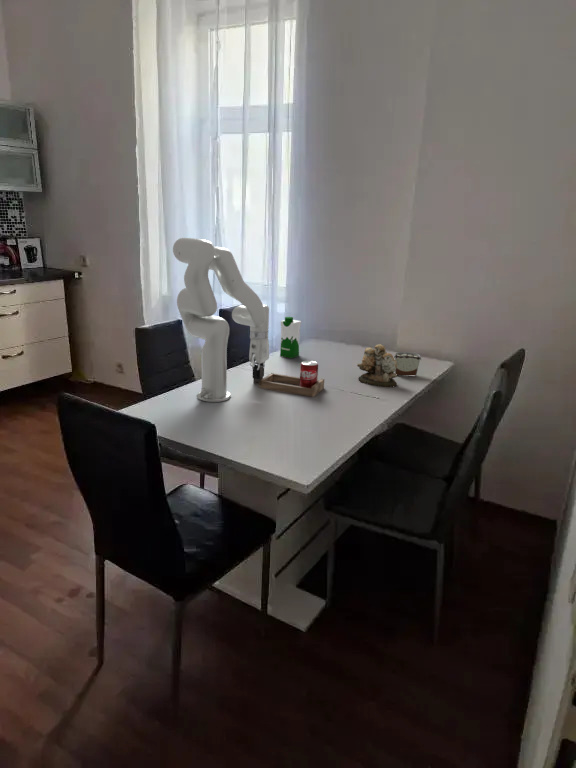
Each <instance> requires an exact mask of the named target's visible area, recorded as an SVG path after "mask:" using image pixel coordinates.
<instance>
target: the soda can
mask: <svg viewBox="0 0 576 768" xmlns="http://www.w3.org/2000/svg"><path fill="white" fill-rule="evenodd" d="M299 377H300V382H299V385H298V386H300V387H306V388H311V387H312V386H313V385H314V384H316V383H317V381H318V379H319V378H318V377H319V363H318V362H317V361H314V360H304V361H301V363H299Z"/></svg>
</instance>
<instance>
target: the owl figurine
mask: <svg viewBox="0 0 576 768" xmlns="http://www.w3.org/2000/svg"><path fill="white" fill-rule="evenodd" d="M363 354H364V355H363V357H362V360H361V363H357V365H356V366H357V367H359V369H360V371H365V373H362V375H360V376H359V377H358V379H357V380H358V382H359V381H360V382H359V383H360V384H364V385H365V384H366V385H369V386H375V387H381V388H394V387H393V386H395V387H396V386H397V381H396V380H395V379H394V378H397V377H398V376H397V375H396V374H395V370H396V368H397V361H396V360H395V358H394V355H393V354H392V353H389V352H387V351H386V347H385V346H384V345H382V344H381V343H379V344H376V345H375V347H374V349H373V348H372V347H366V348H365V350H364V353H363Z"/></svg>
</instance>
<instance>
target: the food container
mask: <svg viewBox="0 0 576 768" xmlns="http://www.w3.org/2000/svg"><path fill="white" fill-rule="evenodd" d="M393 358H394V360H396V361H397V368H396V370H395V372H394V374H397V375H416V376H417V374H418V369H419V365H420V362H421V361H422V357H421V355H420V354H419V353H416V352H409V351H400V352H395V354H394V355H393Z"/></svg>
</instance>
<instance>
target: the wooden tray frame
mask: <svg viewBox="0 0 576 768" xmlns="http://www.w3.org/2000/svg"><path fill="white" fill-rule="evenodd" d="M259 370H260V379H254V378H252V379H253V381H252V382H253V384H257V385H258V388H259V389H264V390H269V391H277V392H282V393H288V394H293V395H301V396H306V397H309V398H310V397H311V398H315V397H316V396H317V395H319V393H320V392H322V391H323V390H324V387H325V378H321V379H320V380H318V381H317V383H316V384H314V385H313V386H312V387H311V388H306V387H300V386H299V382H300V376H299V377H298V376H291V375H287V374H286V375H285V374H280V373H274V372H271V373H270V374H269V373H268V375H266V376H265V377H264V376H263V366H259Z"/></svg>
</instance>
